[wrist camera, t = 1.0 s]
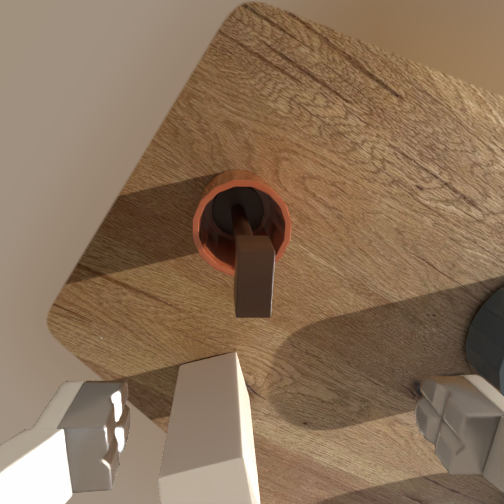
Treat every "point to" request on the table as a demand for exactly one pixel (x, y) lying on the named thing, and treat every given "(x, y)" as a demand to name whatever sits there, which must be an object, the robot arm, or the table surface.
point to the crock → (222, 244)
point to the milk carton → (210, 437)
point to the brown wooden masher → (247, 250)
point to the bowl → (488, 342)
